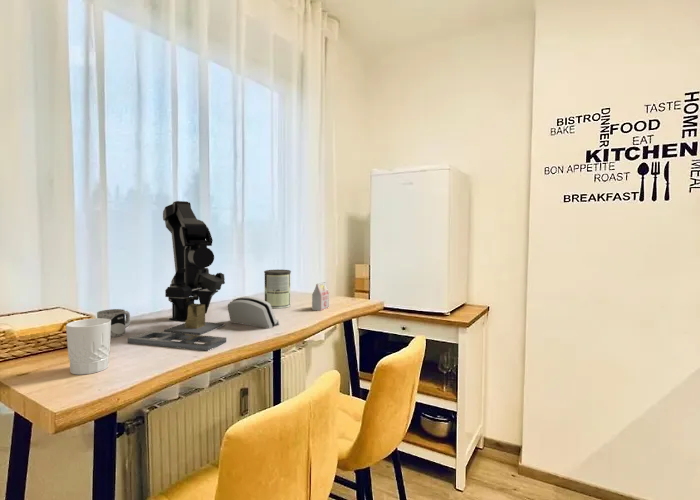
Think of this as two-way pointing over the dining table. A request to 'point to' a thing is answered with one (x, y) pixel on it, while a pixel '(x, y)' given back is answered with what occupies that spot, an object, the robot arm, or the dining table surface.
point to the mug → (116, 320)
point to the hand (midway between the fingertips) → (195, 316)
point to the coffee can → (277, 288)
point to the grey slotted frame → (185, 343)
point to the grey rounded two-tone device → (252, 312)
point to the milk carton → (320, 297)
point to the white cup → (88, 345)
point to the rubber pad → (198, 331)
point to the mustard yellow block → (195, 316)
